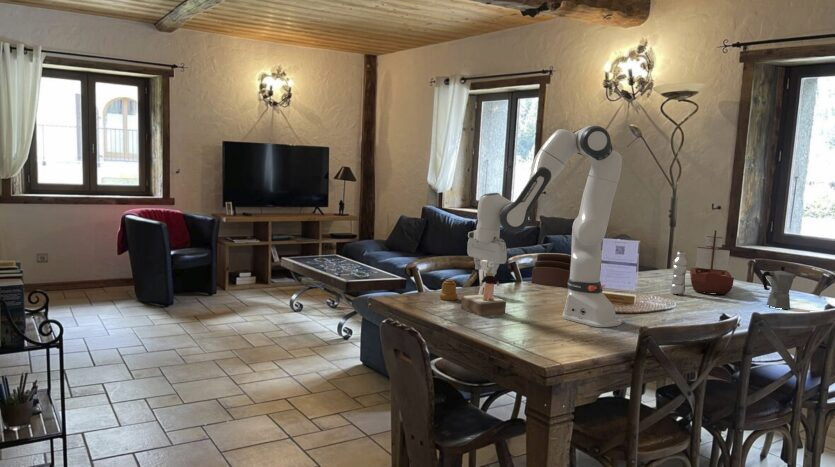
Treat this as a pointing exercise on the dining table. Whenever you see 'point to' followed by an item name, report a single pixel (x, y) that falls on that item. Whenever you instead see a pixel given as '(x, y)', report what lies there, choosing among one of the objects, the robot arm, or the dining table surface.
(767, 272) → the coffeepot
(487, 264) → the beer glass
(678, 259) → the plastic bottle
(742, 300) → the dining table surface
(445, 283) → the ornamental finial
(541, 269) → the letter holder
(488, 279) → the grandmother figurine
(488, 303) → the plinth
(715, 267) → the sailing ship
